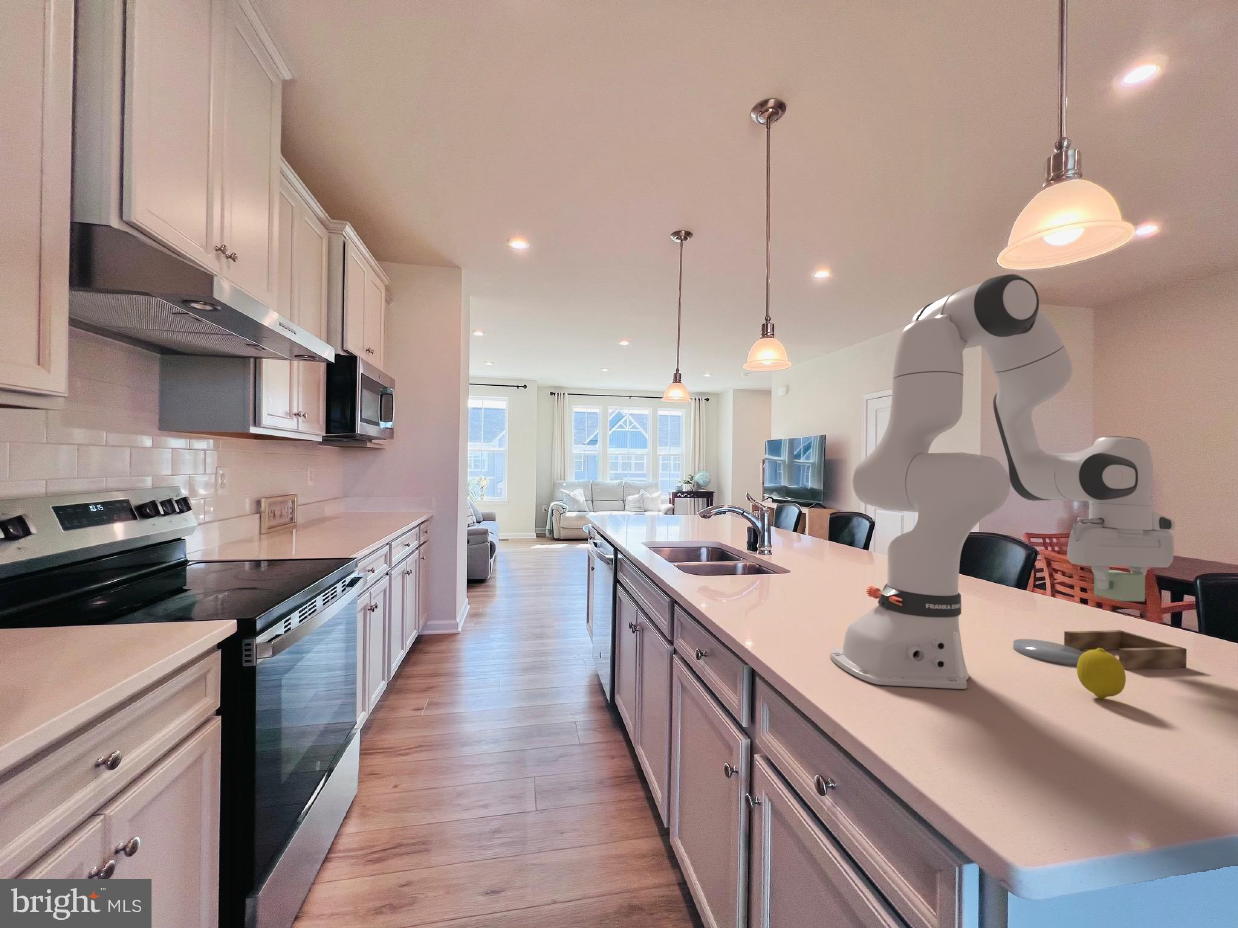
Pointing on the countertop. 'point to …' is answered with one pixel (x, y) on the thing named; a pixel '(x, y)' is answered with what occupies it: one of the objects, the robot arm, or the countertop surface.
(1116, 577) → the cube
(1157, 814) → the countertop surface
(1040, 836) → the countertop surface
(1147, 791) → the countertop surface
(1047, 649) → the grey round glossy part
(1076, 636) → the cubby
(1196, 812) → the countertop surface
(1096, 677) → the lemon
